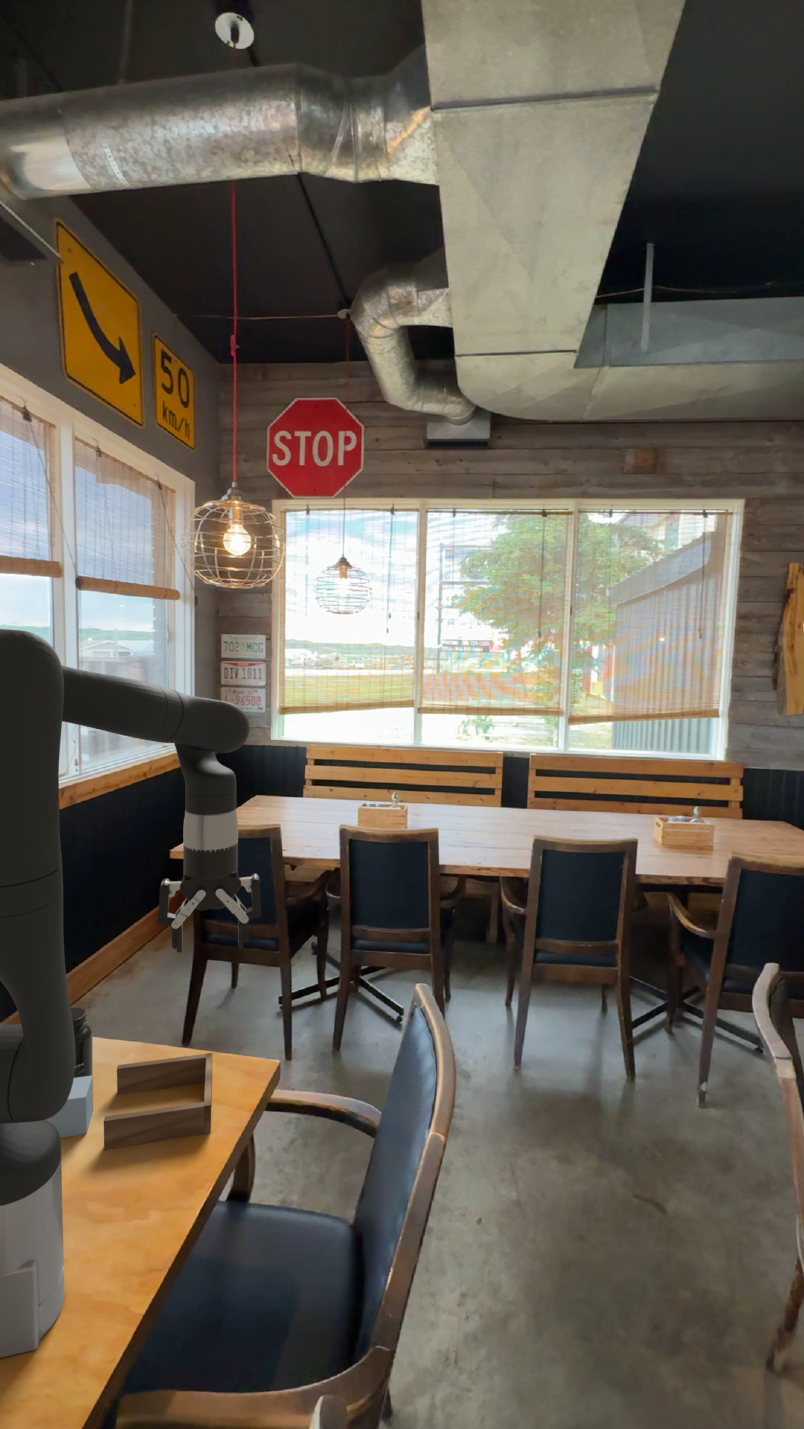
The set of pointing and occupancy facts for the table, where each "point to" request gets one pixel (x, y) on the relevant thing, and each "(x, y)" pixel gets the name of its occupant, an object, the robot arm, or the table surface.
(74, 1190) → the table surface
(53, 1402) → the table surface
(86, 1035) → the supplement bottle
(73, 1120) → the slate block
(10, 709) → the robot arm
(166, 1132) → the brown three-sided frame
